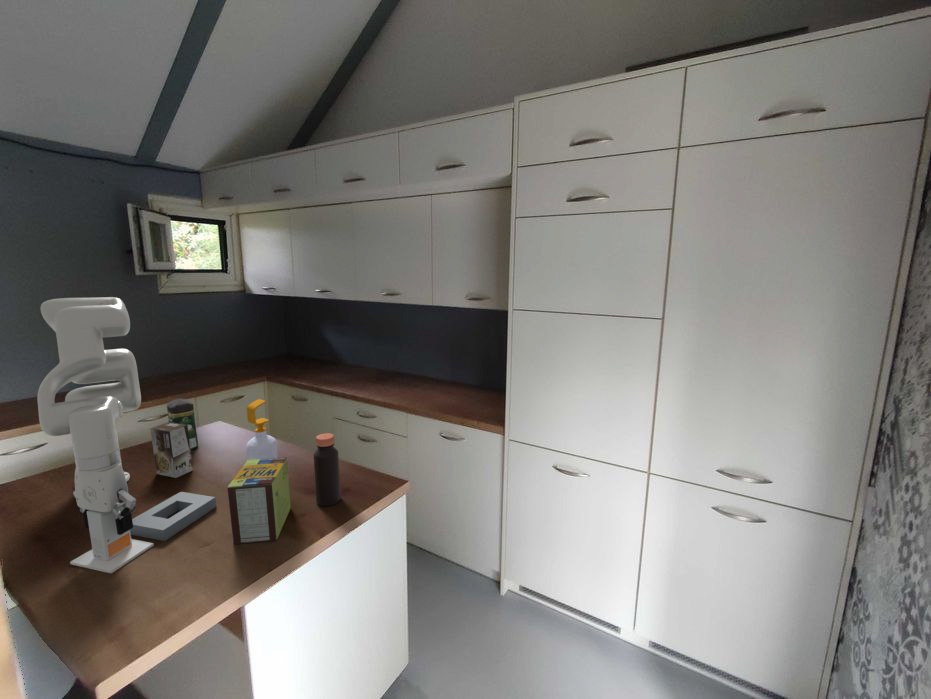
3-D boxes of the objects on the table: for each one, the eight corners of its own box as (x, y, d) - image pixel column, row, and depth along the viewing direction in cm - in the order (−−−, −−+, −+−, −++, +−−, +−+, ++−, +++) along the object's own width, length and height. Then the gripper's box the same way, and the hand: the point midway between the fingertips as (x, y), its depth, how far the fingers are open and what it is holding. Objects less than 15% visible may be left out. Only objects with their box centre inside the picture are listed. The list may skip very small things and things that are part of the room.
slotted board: (126, 533, 107) (125, 523, 107) (182, 501, 123) (180, 491, 122) (164, 541, 104) (163, 530, 104) (216, 506, 120) (215, 497, 119)
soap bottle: (284, 469, 143) (279, 399, 138) (258, 480, 135) (252, 407, 131) (268, 462, 147) (262, 395, 143) (243, 473, 140) (236, 402, 135)
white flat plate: (70, 564, 96) (70, 561, 96) (115, 537, 106) (115, 535, 105) (111, 573, 93) (110, 571, 93) (153, 545, 103) (153, 543, 103)
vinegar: (312, 500, 123) (308, 436, 120) (333, 492, 128) (329, 430, 125) (323, 509, 119) (319, 443, 115) (345, 500, 124) (342, 436, 120)
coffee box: (194, 470, 142) (188, 424, 139) (175, 478, 136) (169, 431, 133) (174, 465, 145) (168, 421, 142) (155, 474, 139) (149, 427, 136)
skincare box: (107, 561, 96) (99, 514, 94) (93, 558, 97) (85, 511, 95) (133, 545, 102) (127, 500, 100) (120, 542, 103) (113, 497, 101)
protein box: (291, 507, 120) (287, 456, 117) (277, 541, 105) (272, 483, 102) (252, 510, 118) (247, 459, 115) (232, 545, 103) (225, 487, 100)
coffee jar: (169, 446, 160) (163, 399, 157) (193, 440, 166) (188, 395, 162) (176, 454, 153) (170, 405, 150) (200, 448, 159) (195, 400, 156)
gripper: (50, 462, 93) (63, 532, 97) (110, 471, 89) (121, 544, 93) (87, 448, 101) (98, 514, 104) (144, 456, 97) (154, 524, 100)
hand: (109, 528), depth 98 cm, fingers open, 9 cm apart
